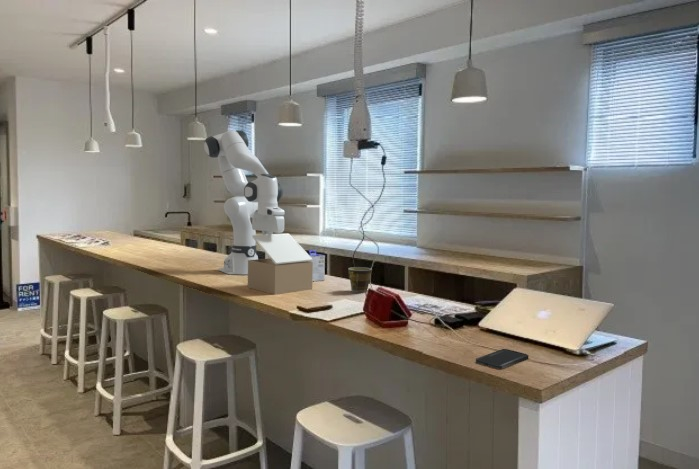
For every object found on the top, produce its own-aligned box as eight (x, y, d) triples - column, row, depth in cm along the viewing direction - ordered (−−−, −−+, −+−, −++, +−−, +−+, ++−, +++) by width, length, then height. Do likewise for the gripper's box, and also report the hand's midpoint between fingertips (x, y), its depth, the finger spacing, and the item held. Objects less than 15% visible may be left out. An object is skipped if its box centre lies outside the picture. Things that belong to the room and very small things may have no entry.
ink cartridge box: (319, 278, 265) (319, 249, 264) (325, 280, 260) (325, 250, 259) (301, 280, 259) (302, 250, 258) (307, 282, 255) (308, 251, 253)
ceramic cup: (356, 288, 241) (356, 266, 240) (375, 291, 235) (376, 268, 234) (339, 292, 230) (339, 269, 229) (358, 296, 224) (359, 272, 224)
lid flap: (252, 236, 234) (252, 235, 234) (288, 234, 247) (288, 233, 247) (275, 264, 222) (276, 262, 222) (312, 260, 236) (312, 259, 236)
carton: (247, 287, 238) (247, 260, 237) (284, 282, 251) (284, 257, 250) (274, 294, 223) (275, 265, 222) (312, 289, 237) (312, 261, 236)
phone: (530, 355, 146) (500, 366, 136) (529, 359, 146) (500, 371, 136) (503, 348, 152) (473, 358, 141) (503, 352, 152) (473, 363, 141)
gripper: (248, 209, 247) (248, 239, 248) (275, 211, 232) (275, 243, 233) (260, 209, 251) (260, 239, 252) (287, 211, 236) (286, 243, 238)
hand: (267, 241), depth 243 cm, fingers closed
